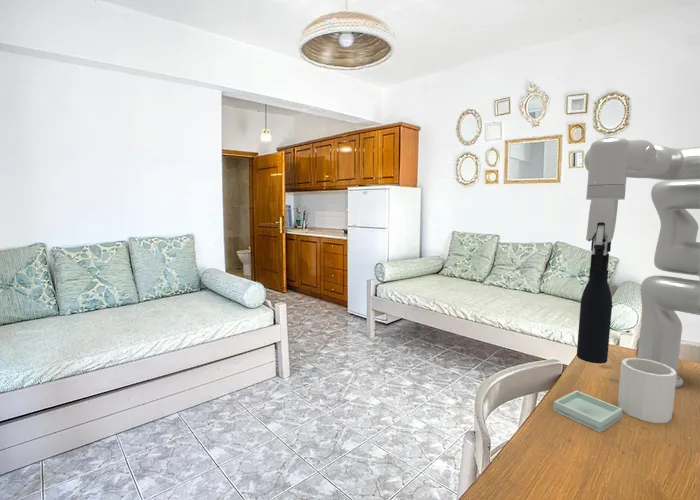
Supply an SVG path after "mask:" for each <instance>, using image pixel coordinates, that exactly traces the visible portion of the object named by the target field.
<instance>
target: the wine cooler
mask: <svg viewBox="0 0 700 500" xmlns="http://www.w3.org/2000/svg"><path fill="white" fill-rule="evenodd" d="M676 376H678V372H677V373H676V371H675V370H674V369H673V368H671V367H669V366H667V365H665V364H662V363H659V362H655V361H652V360H647V359H640V358H638V357H626V358H624V359H622V360H621V365H620V375H619V385H618V395H617V407H619V408H622V413H625V414H626V415H628V416H630V417H632V418H635V419H638V420H641V421H644V422H648V423H653V424H668V423H669V422H670V421H671V420H672V418H673V410H674V401H675V392H676V388H675V385H676Z"/></svg>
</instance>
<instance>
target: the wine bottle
mask: <svg viewBox="0 0 700 500" xmlns="http://www.w3.org/2000/svg"><path fill="white" fill-rule="evenodd" d="M593 241H594V238H593V239H592V240H591V246H590V251H591V252H592V251H593ZM603 242H606V239H603ZM611 246H612V241H610V242H608V244H607V252H608V253H611ZM606 255H607V254H606ZM607 265H608V267H607V268H608V269H607V270H606V272H605V273H603V272H592V271H590V270H589V273H588V281H587V283H586V285H585V287H584V289H583V292H582V295H581V298H580V307H579V308H580V309H579V322H578V332H577V345H576V346H577V347H576V357H577V358H578V359H580V360H581V361H584V362H587V363H592V364H600V365H601V364H606V363H608V356H609V345H610V344H609V343H610V335H611V333H610V332H611V324H612V323H611V321H612V313H613V312H612V310H613V299H612V292H611V288H610V286H609V282H608V281H609V280H608V278H609V263H608V264H607Z"/></svg>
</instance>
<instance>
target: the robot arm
mask: <svg viewBox="0 0 700 500" xmlns="http://www.w3.org/2000/svg"><path fill="white" fill-rule="evenodd" d="M583 162H584V166H585V168H586V170H587V173H588V174H587V175H588V176H587V186H586V196H585V197H586V198H585V200H586V201H587V200H588V201H589V200H590V204H589V211H588V220H587V227H586V228H587V229H586V236H585V241H586V242H592V239H593V238H594V241H593V251H591V255H590V264H589V266H590V268H589V272H590V271H592V272H603V273H605V272H606V270H609V258H610V252H607V244H608V242H610V241H611V242H613V241H612V240H613V238H614V234H615V231H616V225H617V216H618V207H619V206H618V204H619V200H625V199H626V198H625V197H626V191H627V189H626V188H627V178H631V179H632V178H634V179H652V180H653V179H654V180H660V181H659V182H657V183H655V184H654V185H653V186H652V187H651V191H650V192H651V193H650V196H651V201H652V203H653V205H654V208H655V210H656V212H657V215H658V218H659V221H660V229H659V233H658V238H657V243H656V247H655V252H654V256H653V257H654V258H653V264H654V266H655V268H656V269H658V270H659V271H662V272H667V273H672V274H673V273H674V274H682V275H689V276H696V277H699V278H700V242H698V241H697V237H698V232H699V224H698V222H697V220H696V218H695V217H694V216H693V214H691V213H690V212H689V211H688V210H700V146H691V147H683V148H672V147H668V146H665V145H664V146H663V145H659V144H653V143H652V142H650V141H648V140H646V139H634V140H631V139H629V140H627V139H626V138H623V137H620V138H619V137H618V138H617V137H614V138H613V137H611V138H602V139H598V140H595V141H594V142H592V144H591V145H590V148H589V149H588V150H587V152H586V153H585V155H584V160H583ZM603 239H606V242H603ZM606 254H607V255H606ZM607 264H608V265H607ZM607 267H608V268H607ZM639 290H640V299H641V321H640V332H639V339H638V340H639V341H638V351H637V358H640V359H647V360H652V361H655V362H659V363H662V364H665V365H667V366H669V367H671V368H673V369H674V370H675V371H676V373H677V374H678V367H679V362H680V361H679V359H680V352H681V351H680V350H681V341H682V333H683V324H682V321H681V319H680V317H679V316H678V314H677V312H681V313H686V314H691V315H696V316H700V280H695V279H690V278H689V279H688V278H682V277H675V276H670V275H669V276H668V275H650V276H648V277H646V278H645V279H644V280H642V282H641V284H640V289H639ZM683 385H684V379H683V378H681V376H679V375H677V376H676V385H675V389H676V388H680V387H683Z"/></svg>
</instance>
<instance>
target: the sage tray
mask: <svg viewBox="0 0 700 500" xmlns="http://www.w3.org/2000/svg"><path fill="white" fill-rule="evenodd" d="M552 406H553V408H552V411H554V412H555V413H557V414H560V415H562V416H564V417H567V418H568V419H571V420H573V421H575V422H576V423H578V424H581V425H583V426H585V427H588V428H590V429H592V430H594V431H596V432H597V433H602V431H604V430H606V429H607V428H609V427H610V426H612V425H613V424H615V423H617V422H618V421H620V420H621V419H622V418H623V411H622V408H619V406H618V405H617V406H616V405H614V404H612V403H609V402H606V401H605V400H602V399H599V398H597V397H594V396H591V395H589V394H587V393H584V392H582V391H579V390H574V391H572V392H570V393H568V394H566V395H564V396H562V397H560V398H558V399H556V400H554V401H553V405H552Z"/></svg>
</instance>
